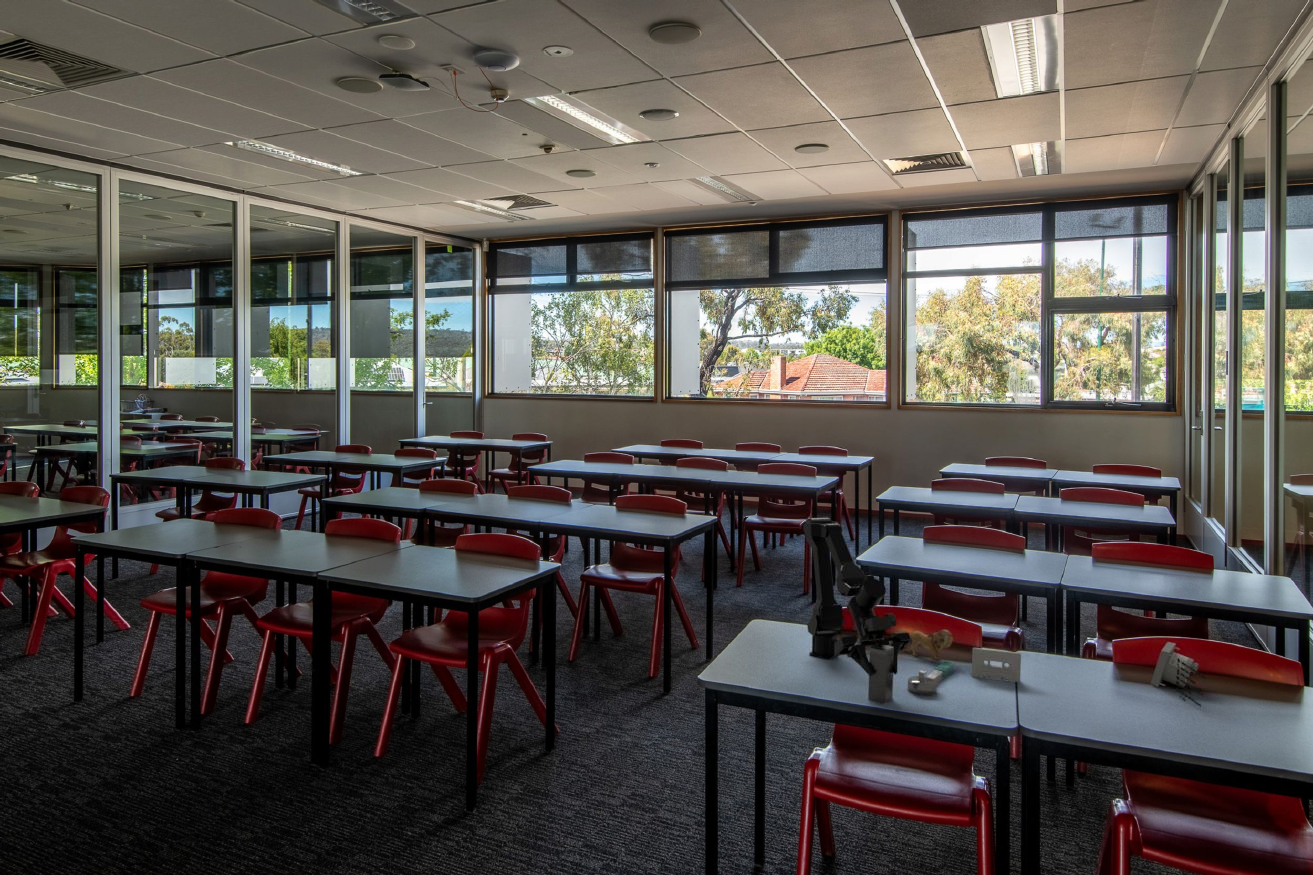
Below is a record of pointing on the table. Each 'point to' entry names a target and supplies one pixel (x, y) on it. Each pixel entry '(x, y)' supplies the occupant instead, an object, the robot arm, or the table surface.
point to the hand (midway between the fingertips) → (883, 674)
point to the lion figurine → (931, 642)
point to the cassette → (996, 671)
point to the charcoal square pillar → (881, 673)
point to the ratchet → (929, 680)
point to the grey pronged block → (1175, 669)
